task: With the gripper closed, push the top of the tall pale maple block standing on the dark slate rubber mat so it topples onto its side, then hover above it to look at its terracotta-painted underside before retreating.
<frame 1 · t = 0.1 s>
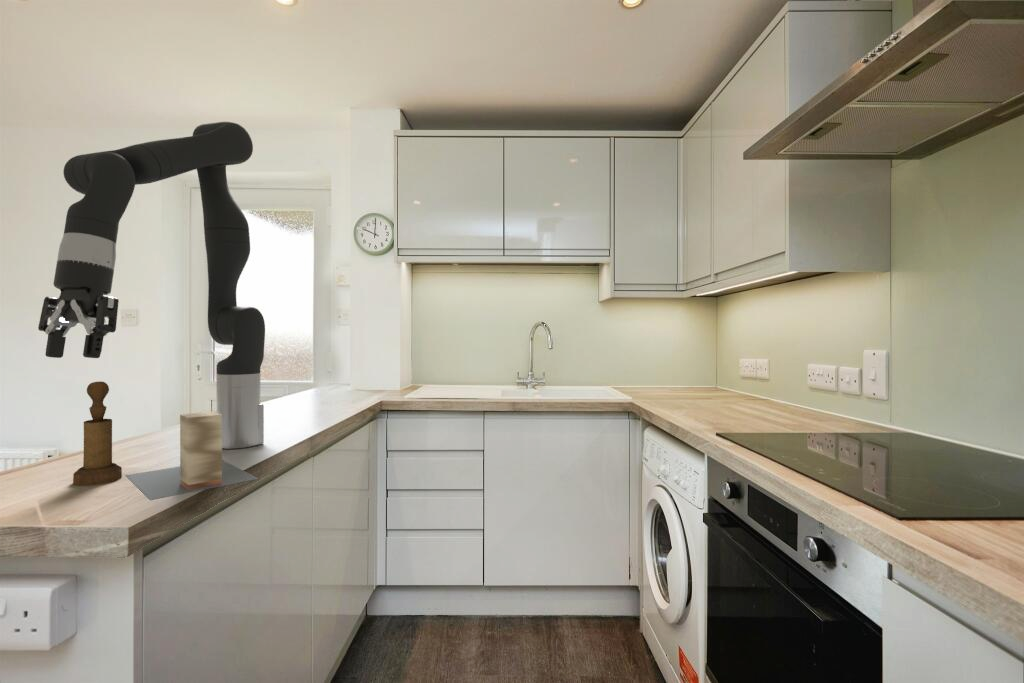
hand: (72, 357, 83), 22 cm above the countertop, tool pointing down, fingers open, 8 cm apart
slate mat: (191, 479, 89), on the countertop
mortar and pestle: (98, 484, 87), on the countertop
maple block: (201, 483, 85), resting on slate mat
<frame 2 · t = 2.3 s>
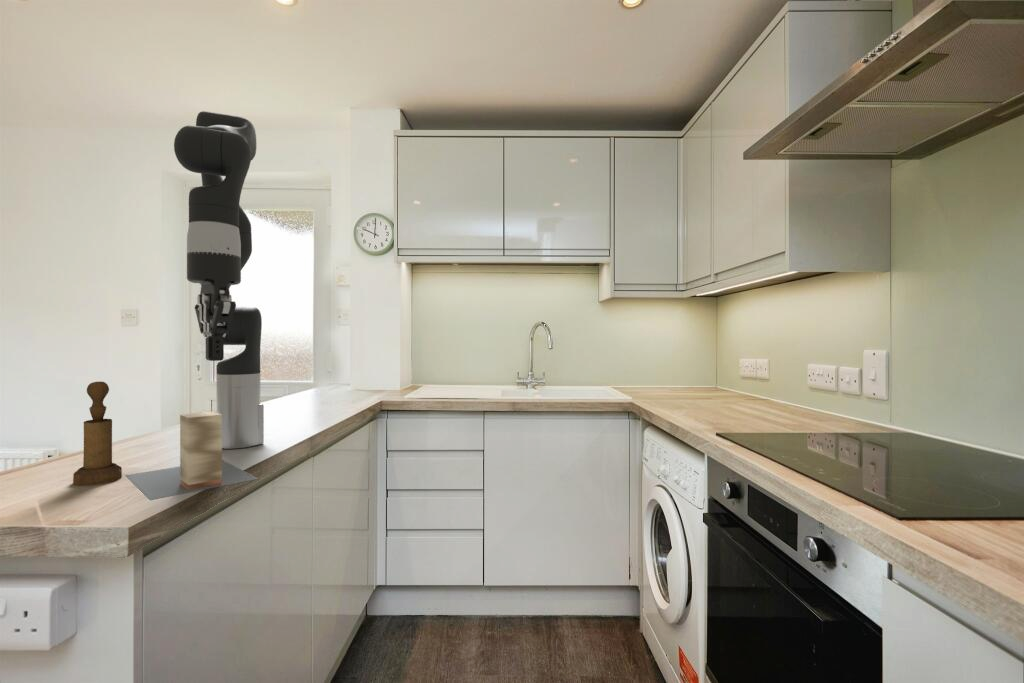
hand: (214, 360, 80), 22 cm above the countertop, tool pointing down, fingers closed
nothing on the countertop moved.
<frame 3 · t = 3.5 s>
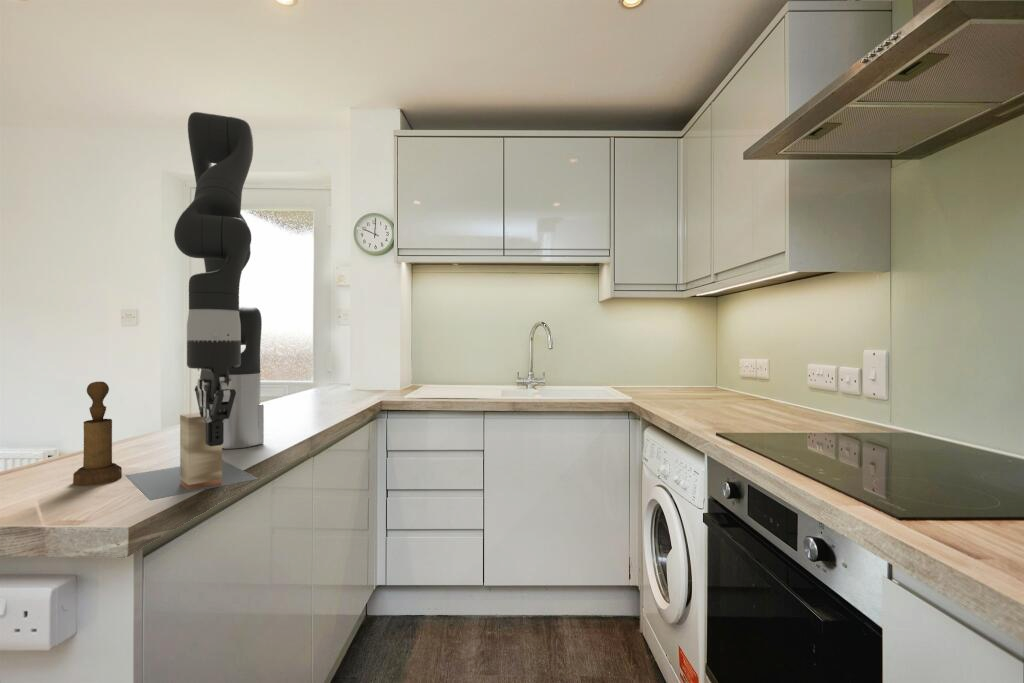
hand: (214, 444, 80), 8 cm above the countertop, tool pointing down, fingers closed
nothing on the countertop moved.
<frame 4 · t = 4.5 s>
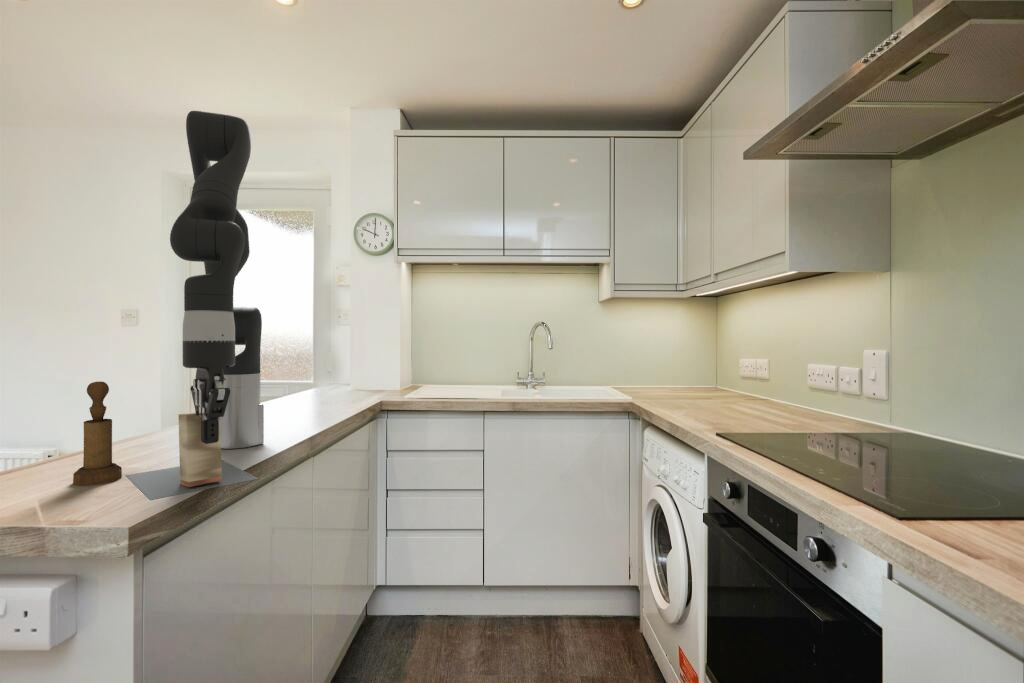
hand: (209, 442, 82), 8 cm above the countertop, tool pointing down, fingers closed
maple block: (201, 482, 85), point 1 cm above the countertop, tilted 5°, touching gripper, hand, slate mat
everything else where it was.
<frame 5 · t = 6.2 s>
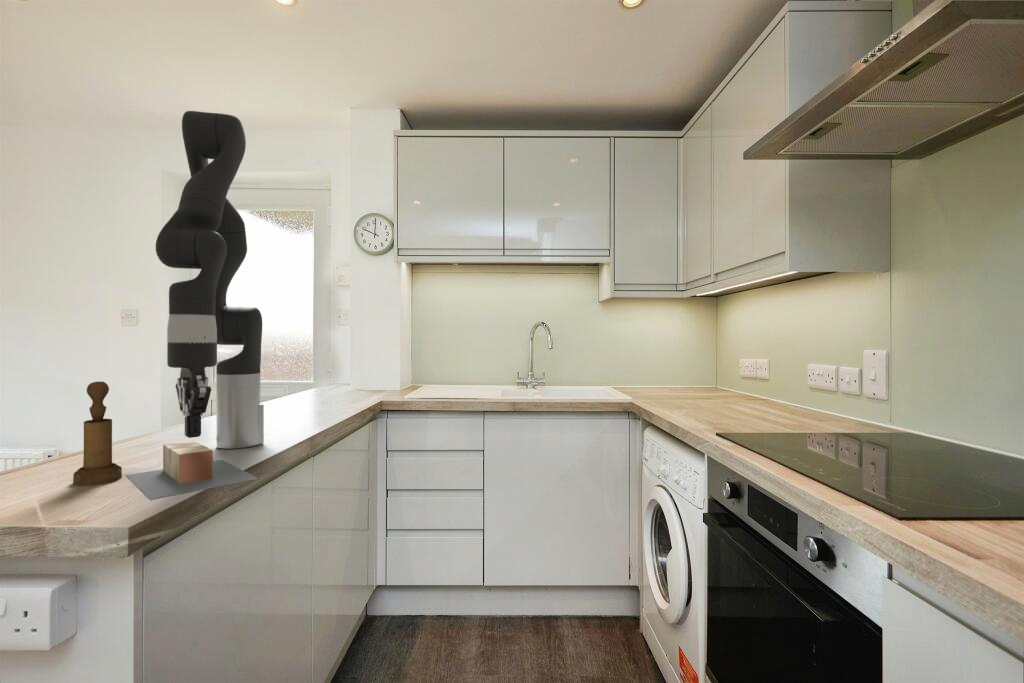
hand: (192, 436, 89), 8 cm above the countertop, tool pointing down, fingers closed
maple block: (196, 466, 87), point 3 cm above the countertop, tilted 90°, touching slate mat
everything else where it was.
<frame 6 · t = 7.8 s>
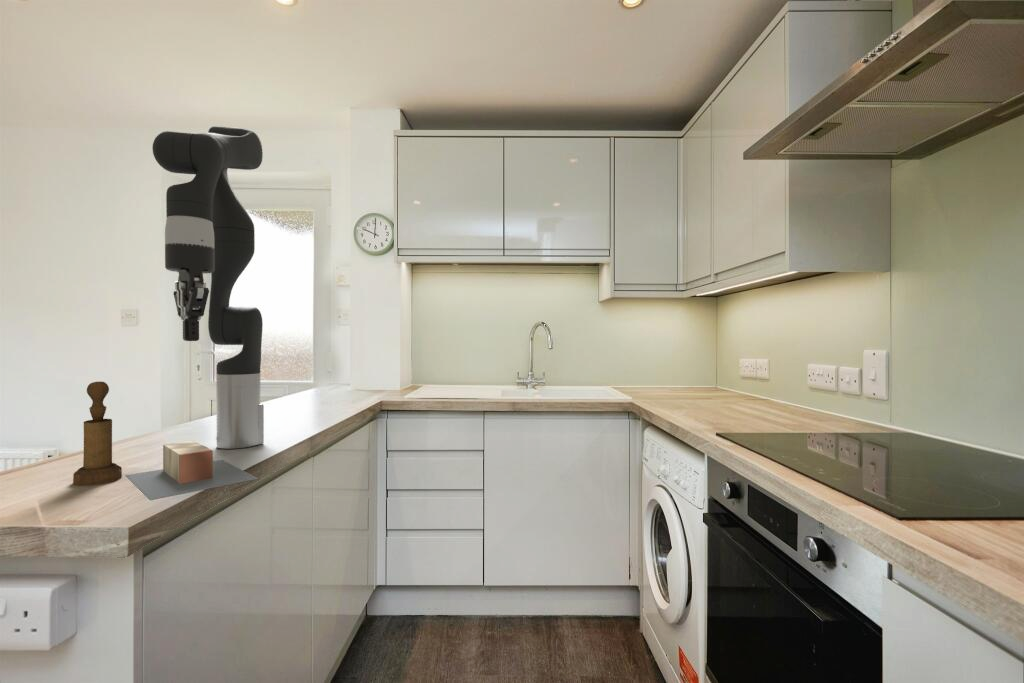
hand: (190, 340, 89), 25 cm above the countertop, tool pointing down, fingers closed
nothing on the countertop moved.
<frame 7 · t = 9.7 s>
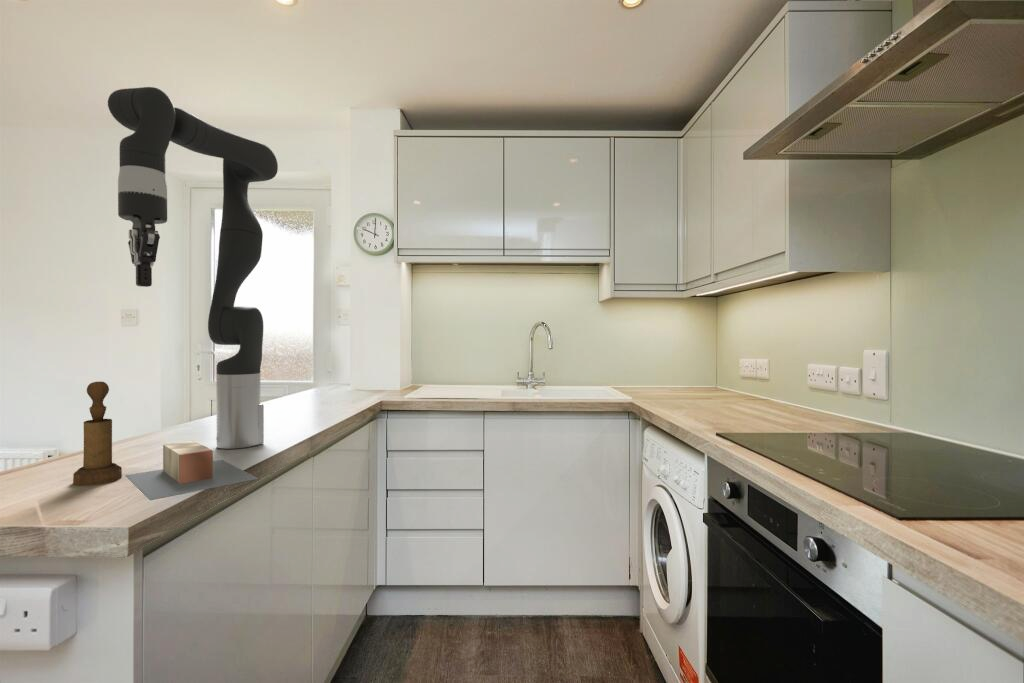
hand: (143, 286, 94), 36 cm above the countertop, tool pointing down, fingers closed
nothing on the countertop moved.
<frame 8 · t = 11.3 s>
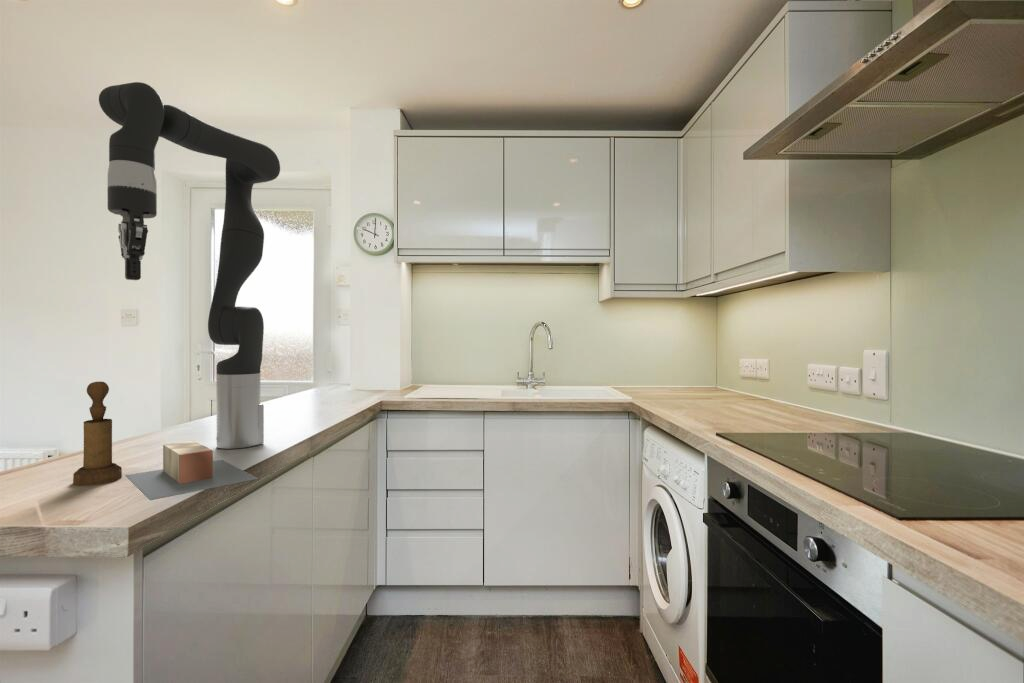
hand: (132, 279, 95), 37 cm above the countertop, tool pointing down, fingers closed
nothing on the countertop moved.
at the end: maple block tilted 90°; maple block inside the target area (0.0 cm from its centre), point 3.0 cm above the countertop; maple block touching slate mat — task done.
